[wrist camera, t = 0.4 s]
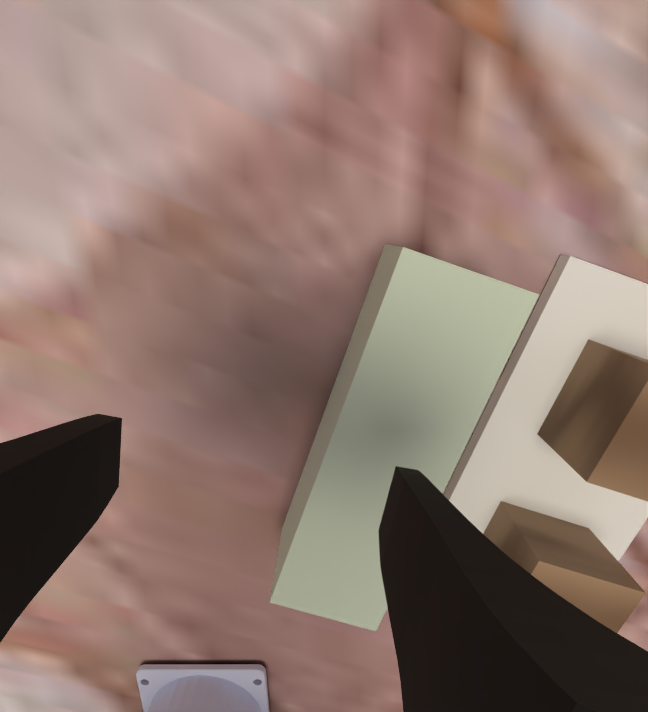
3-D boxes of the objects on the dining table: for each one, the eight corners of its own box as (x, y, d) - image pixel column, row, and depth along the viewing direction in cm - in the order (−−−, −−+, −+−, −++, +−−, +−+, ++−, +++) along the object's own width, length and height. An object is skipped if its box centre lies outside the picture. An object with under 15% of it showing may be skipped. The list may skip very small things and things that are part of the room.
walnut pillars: (544, 599, 23) (587, 674, 19) (460, 575, 22) (487, 646, 18) (686, 373, 19) (777, 408, 15) (588, 339, 18) (656, 366, 14)
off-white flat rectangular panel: (551, 636, 24) (559, 649, 24) (395, 591, 24) (397, 603, 23) (755, 326, 19) (773, 330, 18) (560, 255, 18) (570, 256, 17)
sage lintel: (366, 549, 23) (375, 631, 18) (282, 525, 23) (269, 602, 18) (486, 279, 19) (539, 294, 14) (384, 243, 18) (403, 247, 14)
